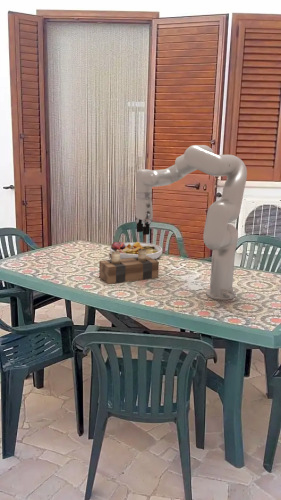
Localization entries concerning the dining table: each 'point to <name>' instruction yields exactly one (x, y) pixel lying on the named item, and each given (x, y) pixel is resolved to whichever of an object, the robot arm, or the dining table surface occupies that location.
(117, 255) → the beech peg
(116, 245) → the bowl
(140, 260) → the beech peg
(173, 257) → the dining table surface
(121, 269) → the banded wooden block
